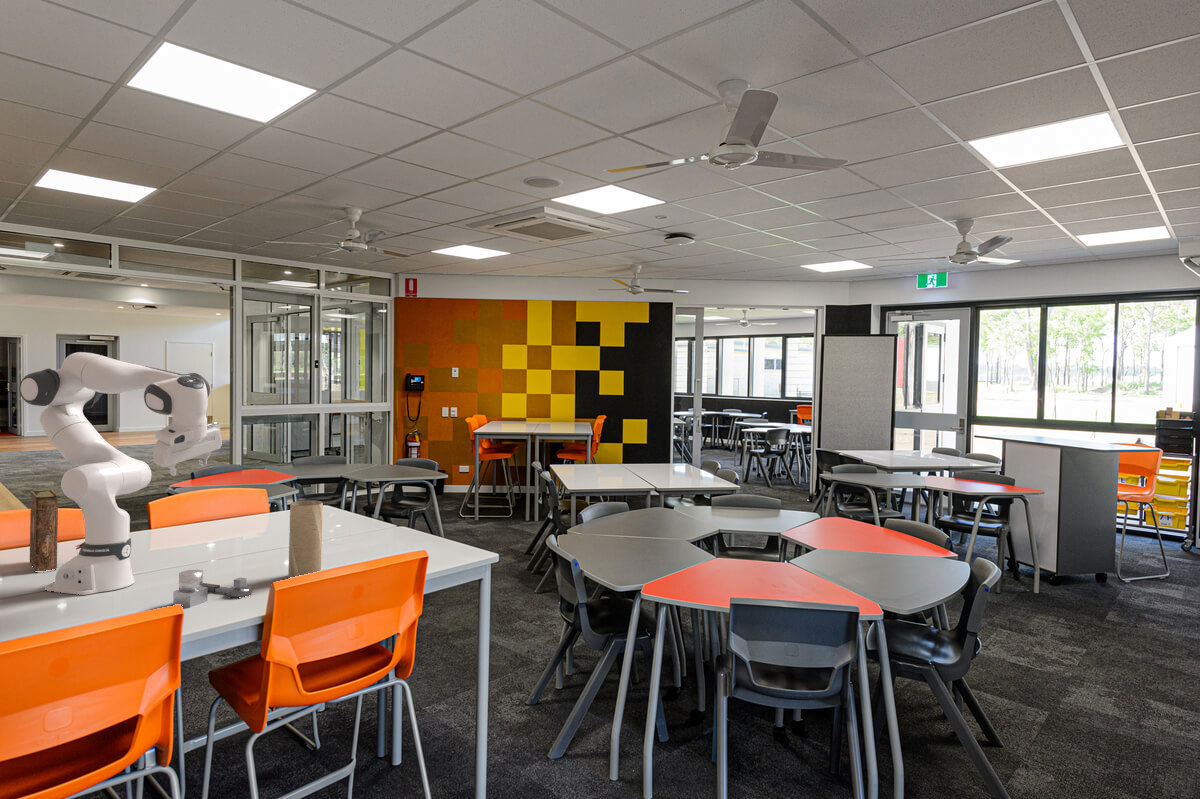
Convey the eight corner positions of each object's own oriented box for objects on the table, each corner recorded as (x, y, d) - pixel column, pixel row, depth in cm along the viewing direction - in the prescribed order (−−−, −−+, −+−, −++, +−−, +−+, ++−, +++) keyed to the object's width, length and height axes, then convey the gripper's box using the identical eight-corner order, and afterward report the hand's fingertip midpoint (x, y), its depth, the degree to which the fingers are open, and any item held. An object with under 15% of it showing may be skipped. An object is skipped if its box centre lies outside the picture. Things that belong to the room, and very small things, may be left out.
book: (57, 570, 213) (58, 496, 212) (35, 573, 209) (37, 497, 208) (50, 560, 224) (51, 489, 223) (29, 562, 220) (30, 490, 219)
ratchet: (188, 592, 196) (188, 576, 196) (205, 586, 202) (206, 570, 202) (240, 599, 192) (240, 583, 191) (256, 593, 198) (256, 577, 198)
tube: (288, 582, 209) (290, 506, 208) (288, 573, 218) (290, 501, 217) (321, 579, 213) (323, 505, 213) (320, 571, 222) (322, 499, 222)
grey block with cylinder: (173, 605, 185) (173, 574, 185) (191, 598, 191) (191, 568, 191) (190, 607, 184) (190, 576, 183) (207, 600, 189) (208, 570, 189)
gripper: (212, 417, 203) (211, 456, 208) (149, 435, 185) (149, 477, 189) (227, 423, 202) (226, 462, 206) (165, 442, 183) (165, 484, 187)
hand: (189, 469), depth 197 cm, fingers open, 8 cm apart
